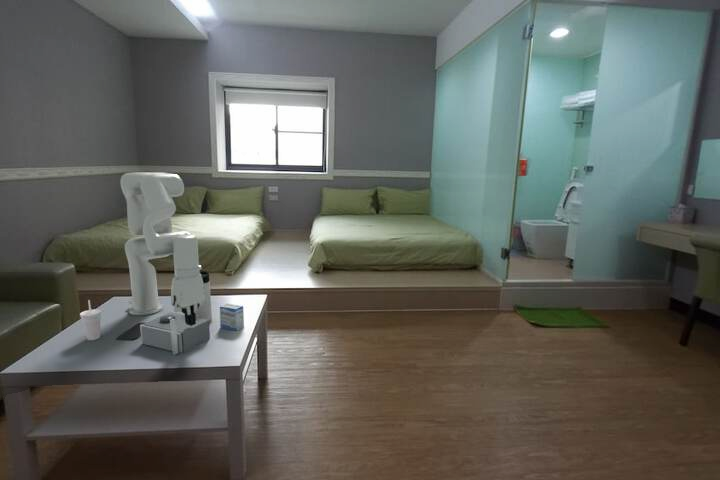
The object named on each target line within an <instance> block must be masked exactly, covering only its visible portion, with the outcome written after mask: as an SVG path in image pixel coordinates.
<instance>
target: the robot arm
mask: <svg viewBox="0 0 720 480" xmlns="http://www.w3.org/2000/svg"><path fill="white" fill-rule="evenodd" d="M120 188H121V191H122V194H123V195H124V198H125V201H126V212H127V227H128V231H129V233H130V234H131V235H134V236H140V237H133V238H130V239H129V240H127V241H125V244H124V252H125V256H126V259H127V262H128V268H129V277H130V287H131V288H130V289H131V290H130V291H131V298H130V300H129V301H128V304H129V305H131V307H130V309H129V314H130V315H133V316H147V315H153V314H155V313H158V312H160V311H162V310H163V308H164V306H163V304H162V303H160V302H159V294H158V293H159V292H158V283H157V271H156V268H155V266H154V265H153V264H152V263H151V262H149V260H153V259H161V258H165V257H169V256H170V255H173V266H174V267H173V268H174V277H173V278H172V281H171V286H170V287H171V289H170V303H171V306H172V307H173V312H174V313H182V314H183V315H185V322H186V324H187V325H190V326H192V325H195V324H196V312H197V309H198V307H199V306H200V305H202V304H203V303H204V299H205V291H204V284H203V279H202V276H201V274H200V272H201V271H200V270H202V265H200V260H199V247H198V246H199V245H198V243H199V242H198V237H196V235H193V234H192V233H190V232H189V231H186V230H185V231H184V230H183V231H181V230H180V231H173V226H172V225H173V223H172V219H171V217H172V216H173V215H174V214H175V212H176V210H177V208H176V204H175V201H174V199H173V198H174V197H175V198H177V197H181V196H182V195H183V194H184V192H185V185H184V182H183V179H182V178H181V177H180V176H179V175H178V174H175V173H171V172H161V171H160V172H157V171H156V172H155V171H154V172H146V171H144V172H143V171H141V172H140V171H136V172H126V173H124V174H122V175H121V177H120Z"/></svg>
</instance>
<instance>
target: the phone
mask: <svg viewBox="0 0 720 480" xmlns="http://www.w3.org/2000/svg"><path fill="white" fill-rule="evenodd" d="M144 323H145V322H136V324H134V325H133V326H131V327H129V328H128V329H126V330H125V331H123V333H121V334H119V335H118V336H117V337H116V338H115V340H116V341H135V340H136V341H137V339H139V338H141V331H140V325H143V324H144Z"/></svg>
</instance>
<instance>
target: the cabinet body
mask: <svg viewBox="0 0 720 480" xmlns="http://www.w3.org/2000/svg"><path fill="white" fill-rule="evenodd" d="M171 319H176V326H177V332H178V333H181V337H182V350H183V352H182V353H186V352H188V351H190V350H191V349H193V348H195V347H197V346H198V345H200V344H202V343H204V342H206V341H208V340H209V339H211V333H210V323H209V320H207V319H202V318H197V317H196V324H195V325H192V326H190V325H187V324H186V322H185V314H179V313H177V312H168V313H166V314H164V315H161V316H159V317H156V318H155V319H152V320H149V321H147V322H143V323H144V324H143V325H145V326H150V327H155V328H159V329H164V330H169V331H171V328H170V320H171Z"/></svg>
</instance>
